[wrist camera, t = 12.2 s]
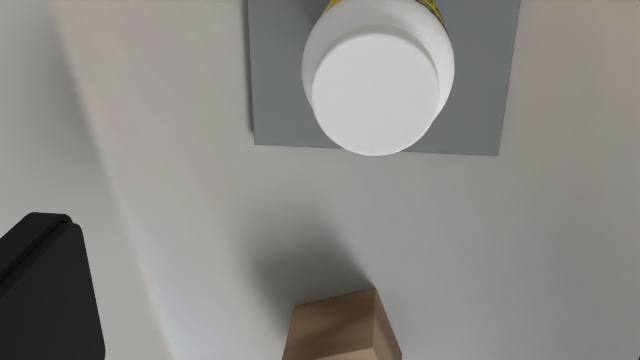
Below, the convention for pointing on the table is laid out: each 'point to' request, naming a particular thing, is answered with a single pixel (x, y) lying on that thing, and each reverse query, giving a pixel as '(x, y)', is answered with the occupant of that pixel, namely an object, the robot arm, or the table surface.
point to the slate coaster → (450, 124)
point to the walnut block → (342, 330)
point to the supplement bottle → (378, 72)
